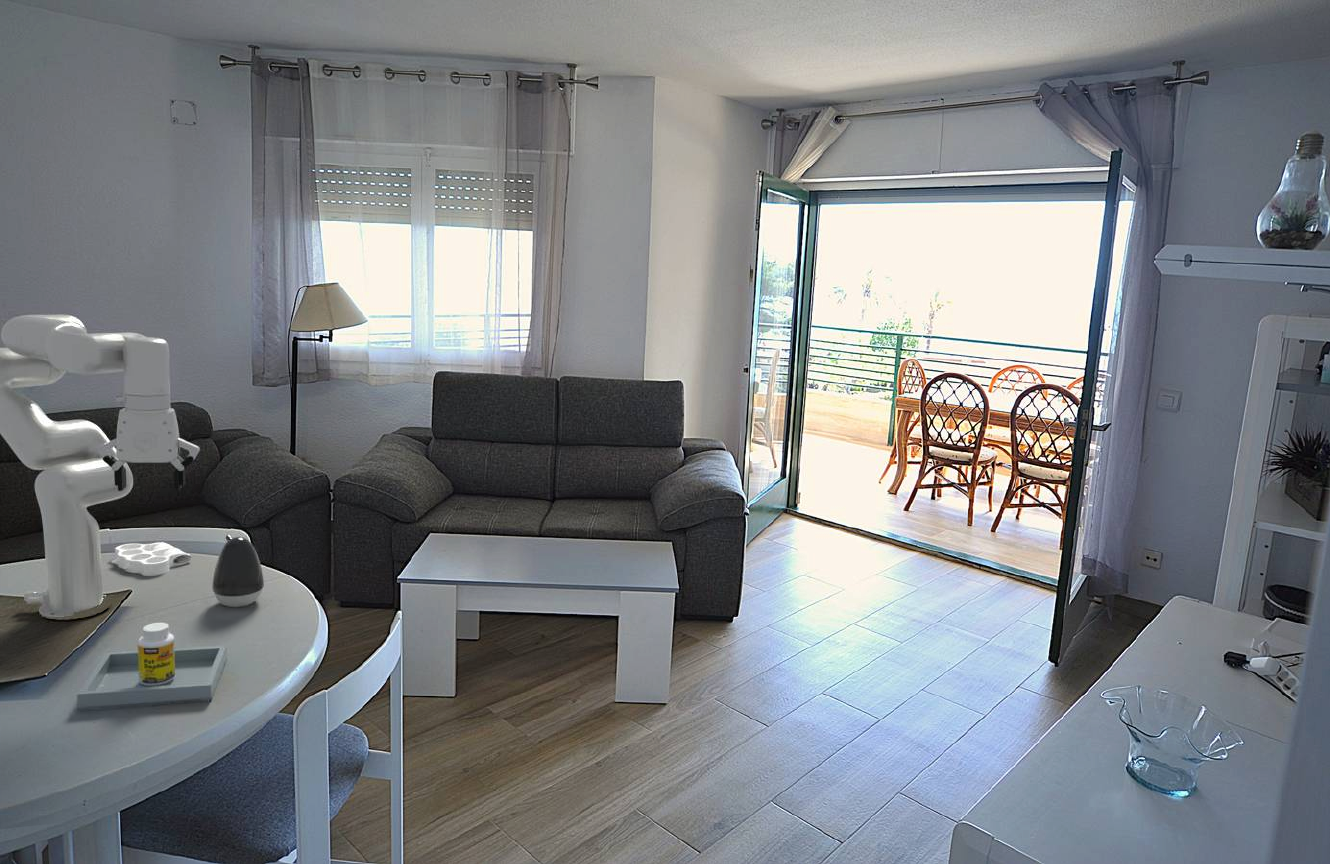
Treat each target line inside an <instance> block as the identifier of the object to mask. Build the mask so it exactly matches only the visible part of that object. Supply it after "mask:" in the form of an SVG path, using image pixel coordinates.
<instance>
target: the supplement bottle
mask: <svg viewBox="0 0 1330 864" xmlns="http://www.w3.org/2000/svg"><path fill="white" fill-rule="evenodd" d="M174 649H175V637H174V634H172V633H170V628H169V624H168V623H165V622H154V623H149V624H147V625H145V626H143V628H142V636H141V637H140V638H139V639H138V641H137V651H138V659H139V660H138V661H139V681H140V683H141V684H143V685H145V686H159V685H163V684H166V683H168V682H170V681H171V680H172V679H173V678H174V676H175V657H174Z"/></svg>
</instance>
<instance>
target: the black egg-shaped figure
mask: <svg viewBox="0 0 1330 864" xmlns="http://www.w3.org/2000/svg"><path fill="white" fill-rule="evenodd" d="M225 540H226V542H225V544H224V545H223V546H222V549H221V551H220V553H219V555H218V558H217V561H216V564H215V567H214V572H213V578H212V579H213V580H212V592H213V593H214V596H215V598H216V600H217V602H219V603H220V604H222V605H223V606H225V607H229V608H242V607H247V606H249V605H251V604H253V603H254V602H255V601H257V600H258V599H259V597H260V596H261V593H262V591H263V589H264V586H265V580H264V575H263V568H262V565H261V561H260V559H259V556H258V553H257V551H256V549H255V547H254V546H253V543H251V542H250V540H249V539H247V538H245V537H242V536H236V537H232V536H231V535H230V534H228V535H226V536H225Z"/></svg>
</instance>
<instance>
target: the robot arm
mask: <svg viewBox="0 0 1330 864" xmlns="http://www.w3.org/2000/svg"><path fill="white" fill-rule="evenodd" d="M0 338H1V341H2V343H3V344H4V346H5V347H0V435H1V437H2V438H3V439H4V440H5V442H6V443H7V444H8V446H9V447H10V449H11V450H12V451H13V453H14V454H15V455H16V456H17V458H18V459H19V460H20V461H21V463H22V464H23V465H24V466H25V467H27V468H29V469H31V470H36V471H41V472H40V473H39V474H38V475H37V476H36V478H35V481H34V492H35V495H36V500H37V503H38V506H39V509H40V514H41V519H42V520H41V521H42V528H43V530H42V531H43V542H44V556H45V558H44V559H45V573H46V574H45V575H46V589H42V591H35V590H34V591H33V590H32V591H25V592H24V595H23V600H24V601H25V602H26V604H27V605H35V604H40V605H41V606H40V607H39V608H38V611H39V613H40V614H41V615H43V616H47V617H64V616H71V615H73V613H74V612H79V611H83V610H87V609H90V608H93V607H95V606H97V605H100V604H101V603H102V601H103V599H104V598H103V596H105V597H106V596H107V595H106V594H103V579H102V578H103V577H102V575H103V574H102V557H101V555H102V554H101V553H102V551H101V535H100V533H101V532H100V527H99V524H98V522H97V520H96V519H95V518H94V516H93V515H92V514H90V512H89V511H88V509H87V508H88V507H90V506H94V505H97V504H98V505H99V504H102V503H107V502H111V501H115V500H120V499H121V498H124V497H125V496H127V495H128V494H129V493H130V492H131V491H132V488H133V486H134V477H133V473H132V470H131V469H130V466H129V465H128V463H139V464H141V463H143V464H145V463H149V464H150V463H151V464H152V463H153V464H154V463H155V464H156V463H158V464H159V463H160V464H161V463H163V464H164V463H170V464H172V465H173V467H174V468H175V470H174V471H173V474H174V475H173V477H174V479H173V481H174V482H173V483H174V490H175V491H178V492H179V491H180V490H181V489H182V488H183V486H185V485H186V468H187V467H188V466H190V465H191V464H192V463H193V462H194V461H195V459H196V457H197V455H198V454H199V452H200V450H201V447H200V446H198V445H196V444H194V443H191V442H189V441H187V440H185V439H183V438H181V437H180V431H179V424H178V420H177V415H176V411H175V409H174V408H173V407H172V408H171V376H170V375H171V374H170V373H171V372H170V348H169V344H168V342H167V341H166V340H165V339H162V338H160V337H159V338H158V337H152V336H151V337H148V336H145V335H143V334H140V333H137V332H99V333H96V332H95V333H88V331H87V328H86V326H85V325H84V323H83V322H82V321H81V320H80V319H78V318H77V317H75V316H73V315H69V314H59V313H58V314H24V315H20V316H15V317H12V318H11V319H9V320H8V321H6V322H5V324H4V325H3V326H2V328H1V331H0ZM66 373H71V374H79V375H98V374H99V375H100V374H107V373H108V374H110V373H123V391H124V392H123V393H122V394H121V395H116V396H115V403H117V404H118V403H119V404H122V406H123V408H122V409H120V410H119V412H118V413H119V414H118V420H117V426H116V428H117V429H116V437H115V438H114V439H112V440H110V439H109V438H108V437H107V435H106V434H105V432H104V431H103V430H102V429H101V428H100V427H99V426H98V425H97V424H95V423H93V422H91V421H89V420H86V419H71V420H60V421H56V420H52V419H50V418H49V417H48V415H46V414H45V412H44V411H43V410H42V408H41V407H40V406H39V405H38V404H37V402H35V401H33V400H32V399H30V398H28V397H27V396H25V395H24V394H21V393H19V392H17V391H14V390H13V389H16V388H27V387H38V386H47V385H51V384H55V383H56V382H58V381H59V380H60V379H61V378H62V377H63V376H64V375H65V374H66ZM181 448H182V449H184V450H186V451H188V452H189V454H188V455H187V457H185V458H184V459H183V458H182V457H181V456H180V455H181V454H180V453H181ZM39 613H38V614H39ZM40 614H39V615H40Z"/></svg>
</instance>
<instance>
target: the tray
mask: <svg viewBox="0 0 1330 864" xmlns="http://www.w3.org/2000/svg"><path fill="white" fill-rule="evenodd" d="M227 648H228V647H227V645H215V646H213V645H212V646H195V647H177V648H175V647H174V657H175V676H174V678H173V679H172V680H171V681H170V682H168V683H166V684H163V685H159V686H145V685H143V684H141V683H140V681H139V661H138V660H139V659H138V650H125V651H124V650H123V651H109V652H108V651H107V652H105V653H104V654H103V655H102V657H101V658H100V660H99V662H98V663H97V665H96V666H95V668H94V669H93V671H92V672H91V673H90V674H89V677H87V679H86V680H85V682H84V683H83V685H82V686H81V688H80V689H79V690H78V692H77V694H76V695H77V699H76V701H77V711H78V712H83V711H84V712H85V711H96V710H111V709H112V710H113V709H125V708H137V707H148V706H149V707H151V706H161V705H163V704H164V705H165V704H166V705H172V704H171V703H179V704H182V703H181V702H192V703H197V702H196V701H206V702H209V701H208V700H213V698H214V696H213V695H215V693H214V692H216V690H215V689H217V687H218V685H217V684H219V682H220V680H221V676H222V674H223V671H224V669H225V666H226V663H227V658H228V657H227V656H228V655H227V654H228V653H227V652H228V651H227ZM218 681H219V682H218ZM212 697H213V698H212ZM164 705H163V706H164Z"/></svg>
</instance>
